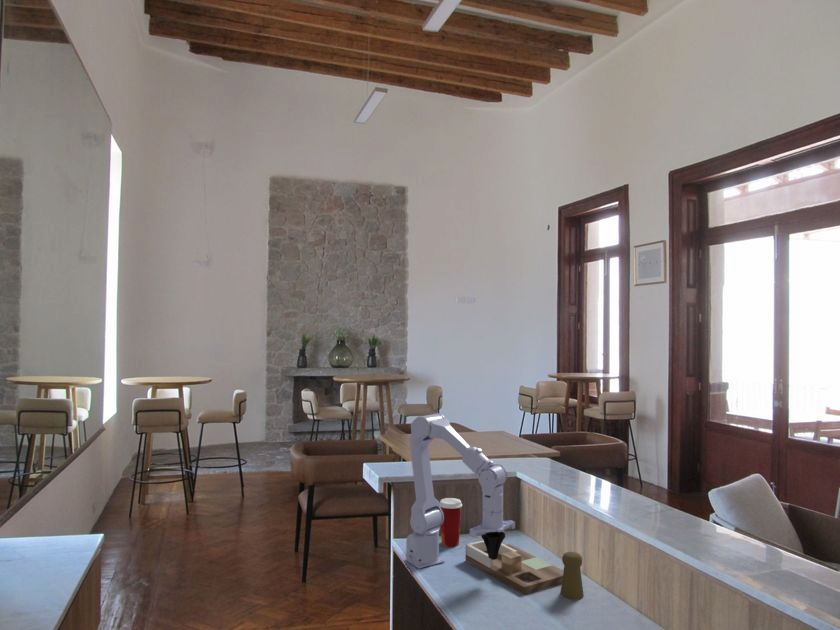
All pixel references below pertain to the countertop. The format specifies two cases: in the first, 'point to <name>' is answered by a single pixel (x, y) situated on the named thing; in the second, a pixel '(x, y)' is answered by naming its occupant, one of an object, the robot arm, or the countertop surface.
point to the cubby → (478, 553)
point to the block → (511, 561)
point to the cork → (572, 576)
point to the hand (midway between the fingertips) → (492, 558)
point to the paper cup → (450, 521)
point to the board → (522, 573)
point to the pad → (536, 563)
